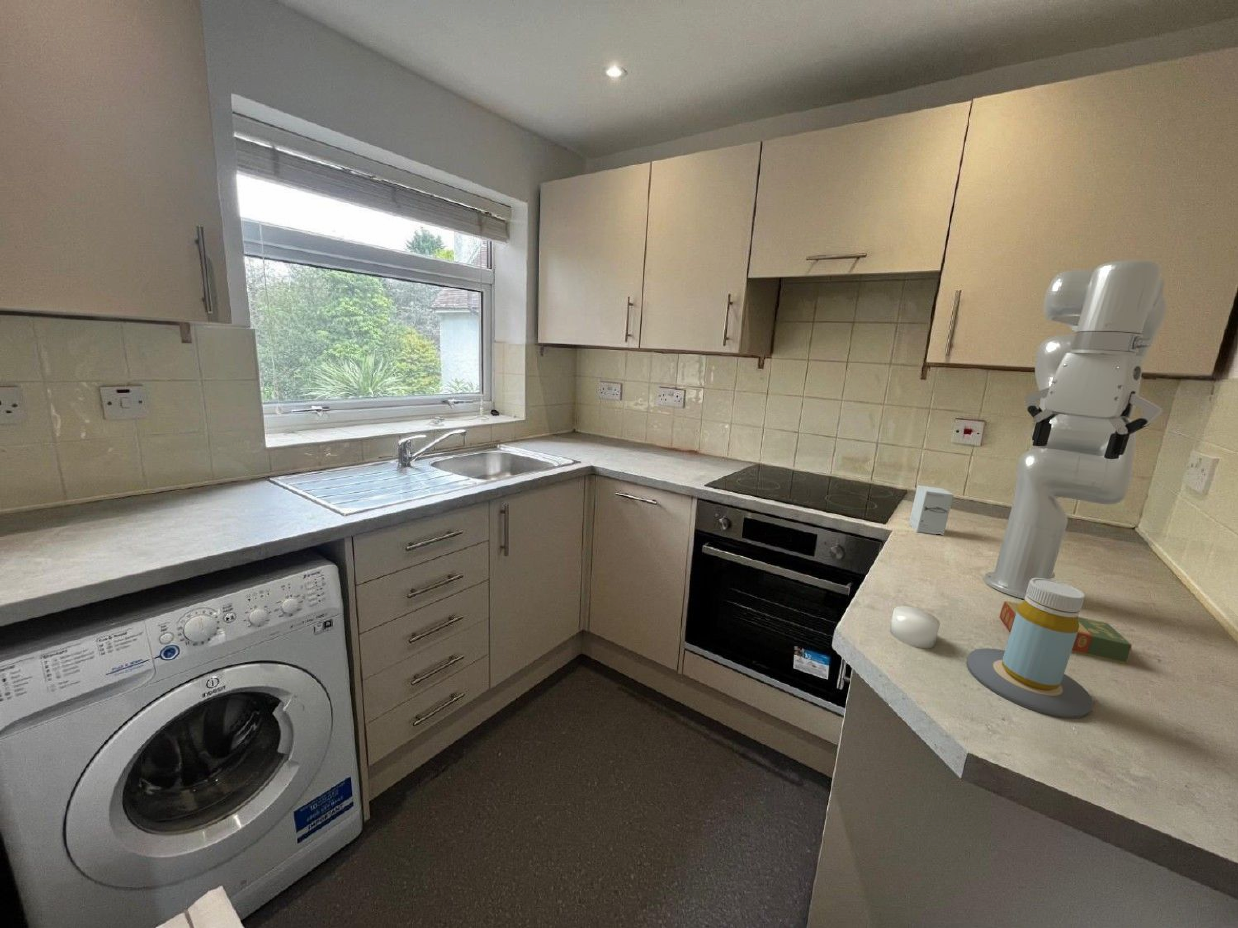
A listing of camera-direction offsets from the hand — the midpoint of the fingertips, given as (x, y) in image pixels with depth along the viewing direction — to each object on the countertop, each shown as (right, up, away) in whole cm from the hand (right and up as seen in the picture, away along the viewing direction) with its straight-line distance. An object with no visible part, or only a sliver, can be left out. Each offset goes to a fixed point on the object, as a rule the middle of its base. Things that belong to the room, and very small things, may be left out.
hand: (1073, 451), depth 82 cm
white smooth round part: (-24, -32, +5) cm, 40 cm away
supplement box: (+16, -22, +65) cm, 71 cm away
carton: (+5, -34, +8) cm, 36 cm away
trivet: (-13, -36, -6) cm, 38 cm away
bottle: (-12, -35, -6) cm, 37 cm away
